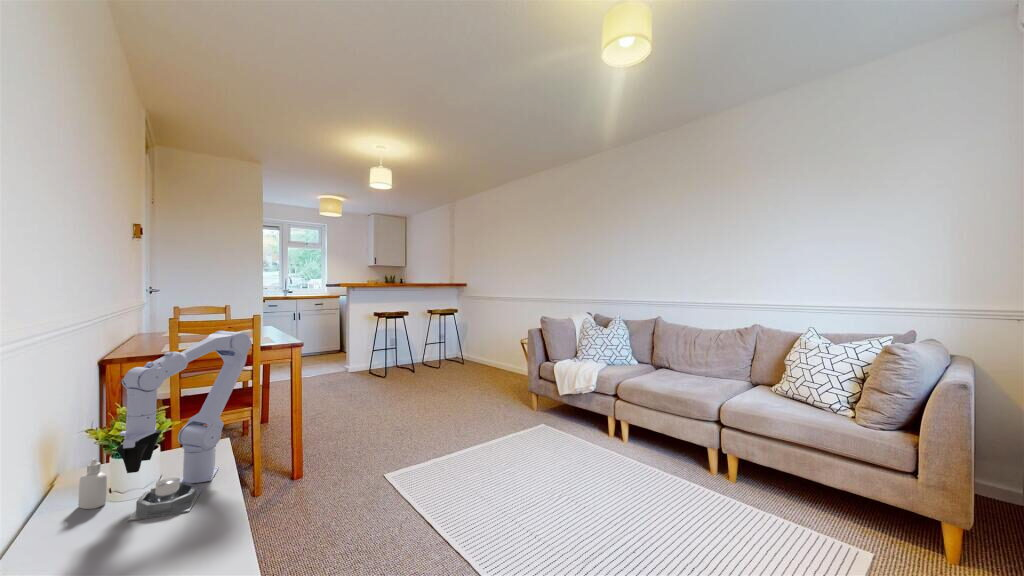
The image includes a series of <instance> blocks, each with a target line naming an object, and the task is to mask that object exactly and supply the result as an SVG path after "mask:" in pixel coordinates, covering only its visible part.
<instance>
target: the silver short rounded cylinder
mask: <svg viewBox="0 0 1024 576" xmlns="http://www.w3.org/2000/svg"><path fill="white" fill-rule="evenodd" d="M180 480H181V478H179V477H168V478H164V479H161V480H159V481H157V482H156V483H155V486H152V487H151V488H150V490H151V495H155V503H157V502H164V501H170V500H173V499H176V498H178V497H179V487H180Z"/></svg>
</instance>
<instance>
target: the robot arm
mask: <svg viewBox="0 0 1024 576" xmlns="http://www.w3.org/2000/svg"><path fill="white" fill-rule="evenodd" d="M251 347H252V340H251V338H250V335H249V334H248V333H246V332H243V331H240V332H238V331H227V330H217V331H215V332H213V333H211V334H209V335H208V336H207V337H206V338H204V339H203V340H201V341H199V342H197V343H195V344H194V345H192V346H190V347H188V348H186V349H184V350H183V351H181V352H179V351H167V352H165V353H163V354H164V355H163V356H161V357H160V358H157V359H155V360H153V361H148V362H146V363H145V365H144V366H136V367H132V368H131V369H129V370H128V371H127V372H126V373H125V375H124V377H123V378H122V379H121V384H122V386H123V387H124V388H125V389H126V395H127V397H126V398H127V399H126V419H125V420H126V421H125V430H122V431H121V432H120V433H119V437H123V436H124V440H123V444H120V445H118V446H117V447H116V452H117V453H118V454H119V455H120V456H121V459H122V460H123V464H124V467H125V470H126V473H127V474H132V473H134V474H135V473H139V472H140V469H141V465H142V462H144V461H151V459H152V456H153V454H154V451H155V447H156V444H157V441H158V439H159V438H160V435H162V430H161V429H157V405H158V404H157V401H158V399H157V398H158V389H159V388H160V387H161V386H162V385H163V383H164V381H166V380H167V379H169V378H170V377H172V376H174V375H176V374H178V373H180V372H183V370H185V369H187V367H188V364H189V363H190V362H193V361H194V360H196V359H198V358H200V357H203V356H206V355H207V354H210V353H212V352H214V351H215V352H216V354H218V356H219V357H220V358H221V359H222V361H223V365H222V367H221V369H220V371H219V373H218V375H217V377H216V379H215V381H214V383H213V385H212V387H211V388H210V390H209V393H208V394H207V397H206V398H205V401H204V403H203V404H202V406H201V408H200V410H199V412H198V413H196V414H195V415H193V416H191V417H190V418H189V419H188V421H187V422H186V424H185V425H184V426H183V427H182V428H181V429H180V430H179V432H178V434H177V440H178V443H179V444H180V445H182V449H183V465H182V466H183V469H182V477H181V478H180V483H184V482H187V483H190V484H198V483H206V482H211V481H212V480H213V478H214V476H215V475H216V473H217V471H218V470H219V468H220V467H219V466H216V447H217V445H218V444H219V442H220V441H221V438H222V432H223V427H224V425H225V423H224V422H223V420H222V418H221V415H222V414H223V412H224V409H225V407H226V405H227V403H228V401H229V399H230V396H231V395H232V393H233V390H234V388H235V386H236V384H237V382H238V380H239V378H240V375H241V373H242V372H243V369H244V368H245V365H246V363H247V358H248V353H249V351H250V349H251Z"/></svg>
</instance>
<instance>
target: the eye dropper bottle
mask: <svg viewBox="0 0 1024 576" xmlns="http://www.w3.org/2000/svg"><path fill="white" fill-rule="evenodd" d="M101 467H102V466H101V462H98V461H97V458H96V457H95V458H92V459H91V462H90V463H89V464H87V466H86V473H85V474H83V475H81V476H80V477H79V484H78V501H77V502H78V503H77V504H78V505H77V506H78V508H80V509H83V510H94V509H98V508H100V507H103V506H105V505H106V503H107V483H108V480H107V479H108V477H107V474H106V473H104V472H103V471H101Z"/></svg>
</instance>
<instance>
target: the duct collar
mask: <svg viewBox="0 0 1024 576" xmlns="http://www.w3.org/2000/svg"><path fill="white" fill-rule="evenodd" d="M202 491H203V488H199V489H198V485H196V484H195V483H192V484H190V483H187V482H184V483H180V487H179V497H178V498H176V499H173V500H170V501H164V502H157V503H155V495H151V489H150V490H148V491H145V492H143V493H142V495H141V496H140V497H139V498H138V499H137V501H135V502H136V506H135V510H134V512H133V513H132V514H131V515H130V516H129V517H128V519H127V520H126V521H127V522H128V523H129V522H134V521H140V520H146V519H147V520H148V519H153V518H159V517H165V516H172V515H178V514H179V515H180V514H185V513H189V512H191V510H192V508H193V506H194V504H195V503H196V501H197V499H198V498H199V496H200V495H201V493H202Z"/></svg>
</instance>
